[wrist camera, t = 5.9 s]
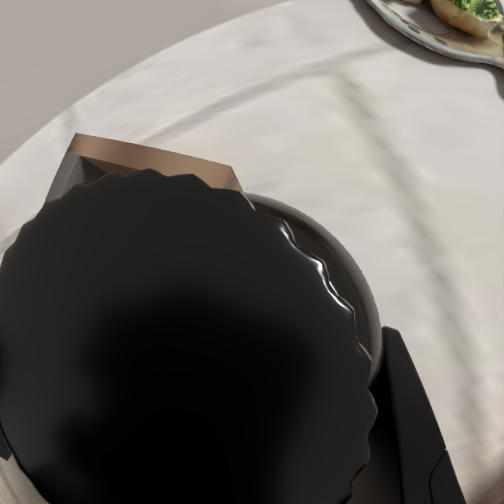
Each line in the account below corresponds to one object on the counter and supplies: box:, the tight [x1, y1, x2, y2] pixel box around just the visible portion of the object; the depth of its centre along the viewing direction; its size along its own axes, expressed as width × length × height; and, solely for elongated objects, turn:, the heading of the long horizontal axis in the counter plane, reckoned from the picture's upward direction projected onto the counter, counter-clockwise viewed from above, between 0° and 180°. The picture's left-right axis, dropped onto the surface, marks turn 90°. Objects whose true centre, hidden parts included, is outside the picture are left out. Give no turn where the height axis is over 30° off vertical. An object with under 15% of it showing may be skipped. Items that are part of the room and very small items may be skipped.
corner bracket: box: [43, 133, 243, 206], centre depth 15 cm, size 10×9×3 cm
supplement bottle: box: [0, 168, 383, 504], centre depth 8 cm, size 7×7×12 cm
